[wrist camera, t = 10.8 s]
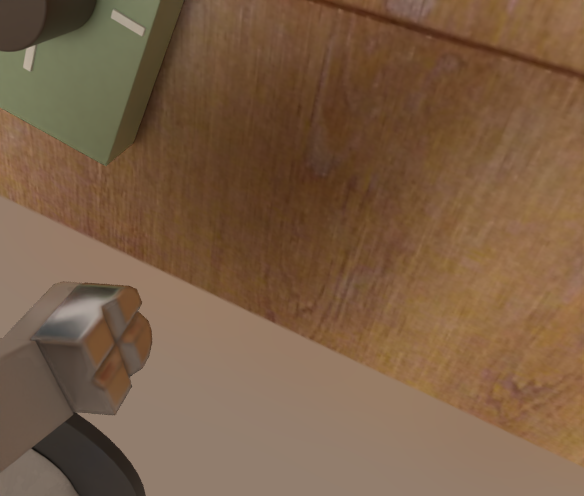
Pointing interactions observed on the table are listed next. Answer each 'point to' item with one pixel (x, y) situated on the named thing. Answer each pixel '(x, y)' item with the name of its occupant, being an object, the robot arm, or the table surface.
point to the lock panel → (92, 76)
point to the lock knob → (40, 21)
